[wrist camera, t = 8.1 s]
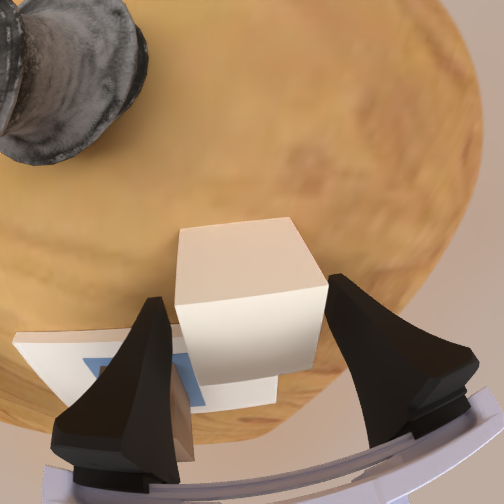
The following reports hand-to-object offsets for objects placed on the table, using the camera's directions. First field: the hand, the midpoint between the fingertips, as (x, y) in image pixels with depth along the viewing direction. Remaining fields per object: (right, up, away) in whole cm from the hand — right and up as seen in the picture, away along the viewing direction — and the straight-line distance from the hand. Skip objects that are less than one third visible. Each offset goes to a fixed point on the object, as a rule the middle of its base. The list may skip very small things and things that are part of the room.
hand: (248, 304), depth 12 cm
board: (-7, -6, +6) cm, 11 cm away
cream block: (-1, +2, +2) cm, 3 cm away
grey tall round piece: (-6, +9, -4) cm, 12 cm away
